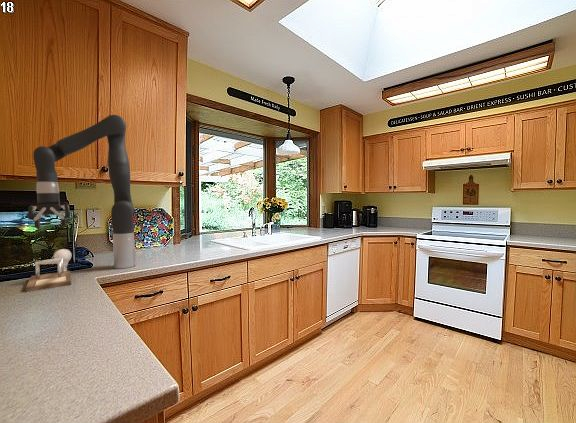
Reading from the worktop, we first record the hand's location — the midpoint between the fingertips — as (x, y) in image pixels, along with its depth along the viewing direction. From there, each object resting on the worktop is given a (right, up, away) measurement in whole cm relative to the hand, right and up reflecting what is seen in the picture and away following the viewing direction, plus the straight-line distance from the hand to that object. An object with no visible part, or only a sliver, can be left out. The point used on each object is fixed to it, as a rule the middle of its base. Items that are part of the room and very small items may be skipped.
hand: (50, 228), depth 122 cm
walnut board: (+9, -22, -10) cm, 25 cm away
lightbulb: (+2, -21, +5) cm, 22 cm away
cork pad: (+13, -20, -14) cm, 28 cm away
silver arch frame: (+6, -20, -7) cm, 22 cm away
